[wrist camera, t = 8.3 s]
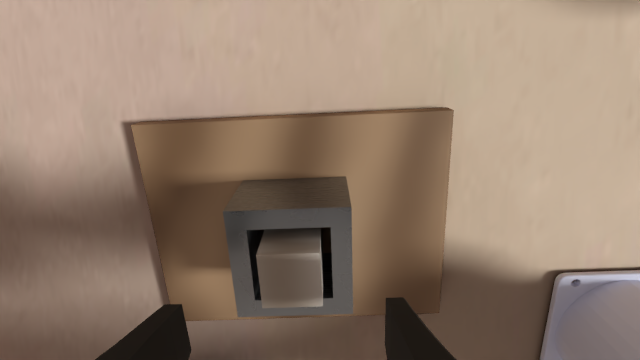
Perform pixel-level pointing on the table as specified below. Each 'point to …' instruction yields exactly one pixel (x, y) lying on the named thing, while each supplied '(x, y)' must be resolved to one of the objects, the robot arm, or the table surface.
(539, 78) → the table surface
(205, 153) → the post board
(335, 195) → the square hub
